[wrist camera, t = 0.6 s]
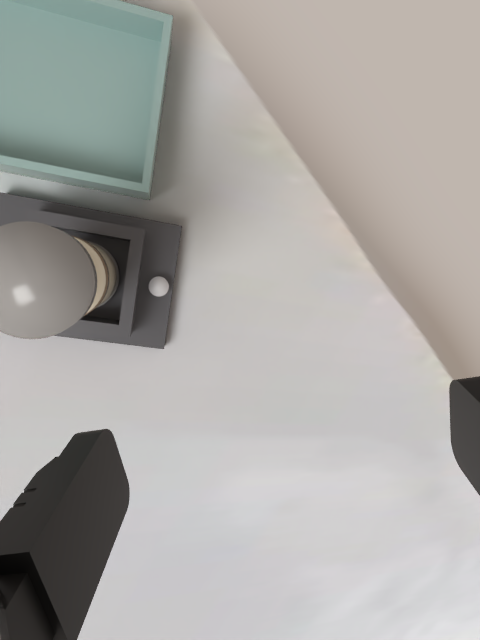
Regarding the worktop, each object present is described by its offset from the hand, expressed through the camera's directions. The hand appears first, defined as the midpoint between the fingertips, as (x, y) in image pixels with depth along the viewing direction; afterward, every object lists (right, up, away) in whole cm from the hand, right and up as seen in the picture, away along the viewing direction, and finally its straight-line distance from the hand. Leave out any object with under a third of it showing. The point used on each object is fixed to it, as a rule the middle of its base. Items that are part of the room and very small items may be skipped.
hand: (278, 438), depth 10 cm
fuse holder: (-12, +6, +20) cm, 24 cm away
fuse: (-12, +6, +19) cm, 23 cm away
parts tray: (-14, +18, +18) cm, 29 cm away
